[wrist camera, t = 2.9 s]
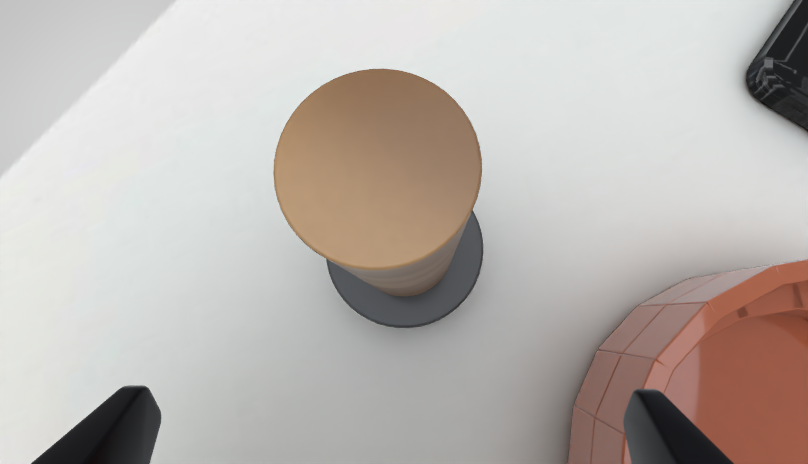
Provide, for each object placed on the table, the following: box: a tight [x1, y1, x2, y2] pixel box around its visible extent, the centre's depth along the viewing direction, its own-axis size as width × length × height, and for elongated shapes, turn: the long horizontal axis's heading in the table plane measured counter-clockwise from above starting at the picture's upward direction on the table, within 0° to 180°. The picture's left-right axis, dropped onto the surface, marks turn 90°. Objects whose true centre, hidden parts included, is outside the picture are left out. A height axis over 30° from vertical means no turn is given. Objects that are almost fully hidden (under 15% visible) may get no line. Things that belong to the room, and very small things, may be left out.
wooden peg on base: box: [274, 69, 483, 328], centre depth 14 cm, size 5×5×13 cm
